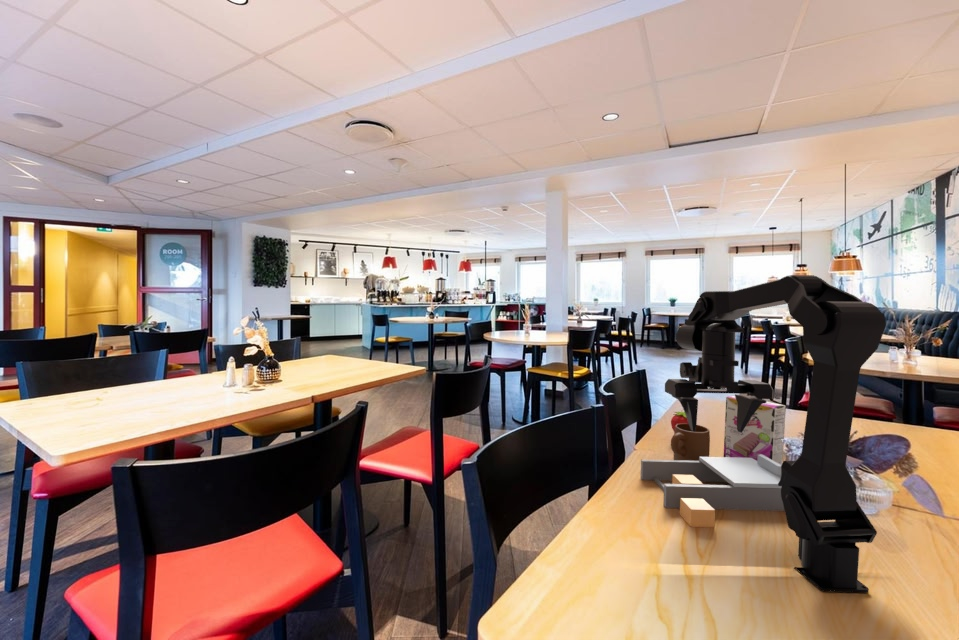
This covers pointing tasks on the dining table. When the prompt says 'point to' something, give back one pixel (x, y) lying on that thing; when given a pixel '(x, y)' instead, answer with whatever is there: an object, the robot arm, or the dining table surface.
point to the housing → (707, 487)
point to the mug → (690, 442)
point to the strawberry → (678, 419)
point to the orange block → (685, 479)
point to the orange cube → (697, 512)
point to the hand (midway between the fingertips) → (716, 431)
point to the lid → (746, 471)
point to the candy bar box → (755, 432)
